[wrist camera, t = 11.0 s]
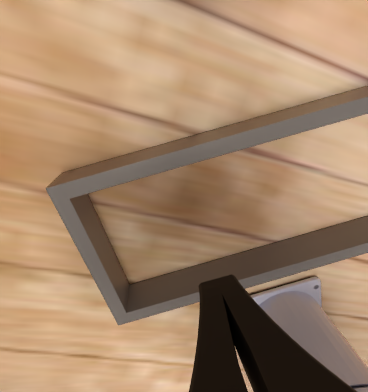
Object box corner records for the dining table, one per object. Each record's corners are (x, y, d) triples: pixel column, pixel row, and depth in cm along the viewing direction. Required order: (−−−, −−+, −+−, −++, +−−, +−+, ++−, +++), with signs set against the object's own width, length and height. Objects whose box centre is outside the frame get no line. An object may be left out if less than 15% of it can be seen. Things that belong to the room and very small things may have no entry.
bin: (379, 221, 22) (411, 240, 20) (122, 296, 22) (118, 325, 20) (391, 78, 18) (436, 77, 15) (61, 172, 17) (45, 188, 15)
